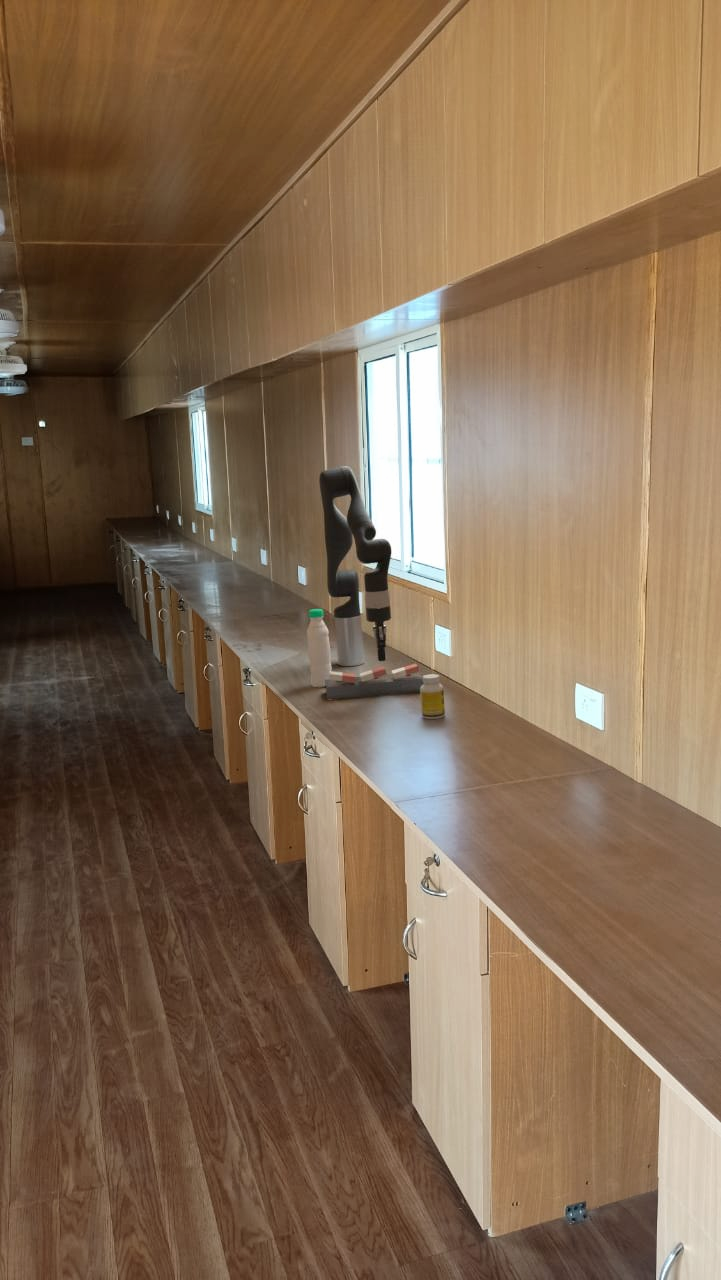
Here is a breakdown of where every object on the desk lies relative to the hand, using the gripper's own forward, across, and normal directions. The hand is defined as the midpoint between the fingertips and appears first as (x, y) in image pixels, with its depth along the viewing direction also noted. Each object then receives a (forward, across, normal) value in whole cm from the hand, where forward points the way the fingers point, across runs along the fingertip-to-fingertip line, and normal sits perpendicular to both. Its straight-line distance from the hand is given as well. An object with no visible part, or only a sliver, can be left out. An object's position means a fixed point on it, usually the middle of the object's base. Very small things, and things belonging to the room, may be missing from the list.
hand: (381, 660), depth 303 cm
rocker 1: (+5, 0, -13) cm, 14 cm away
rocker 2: (+5, 0, -3) cm, 6 cm away
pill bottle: (+11, +31, +11) cm, 35 cm away
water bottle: (+10, -17, -19) cm, 27 cm away
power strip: (+10, -2, -3) cm, 11 cm away
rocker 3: (+5, 0, +7) cm, 9 cm away
